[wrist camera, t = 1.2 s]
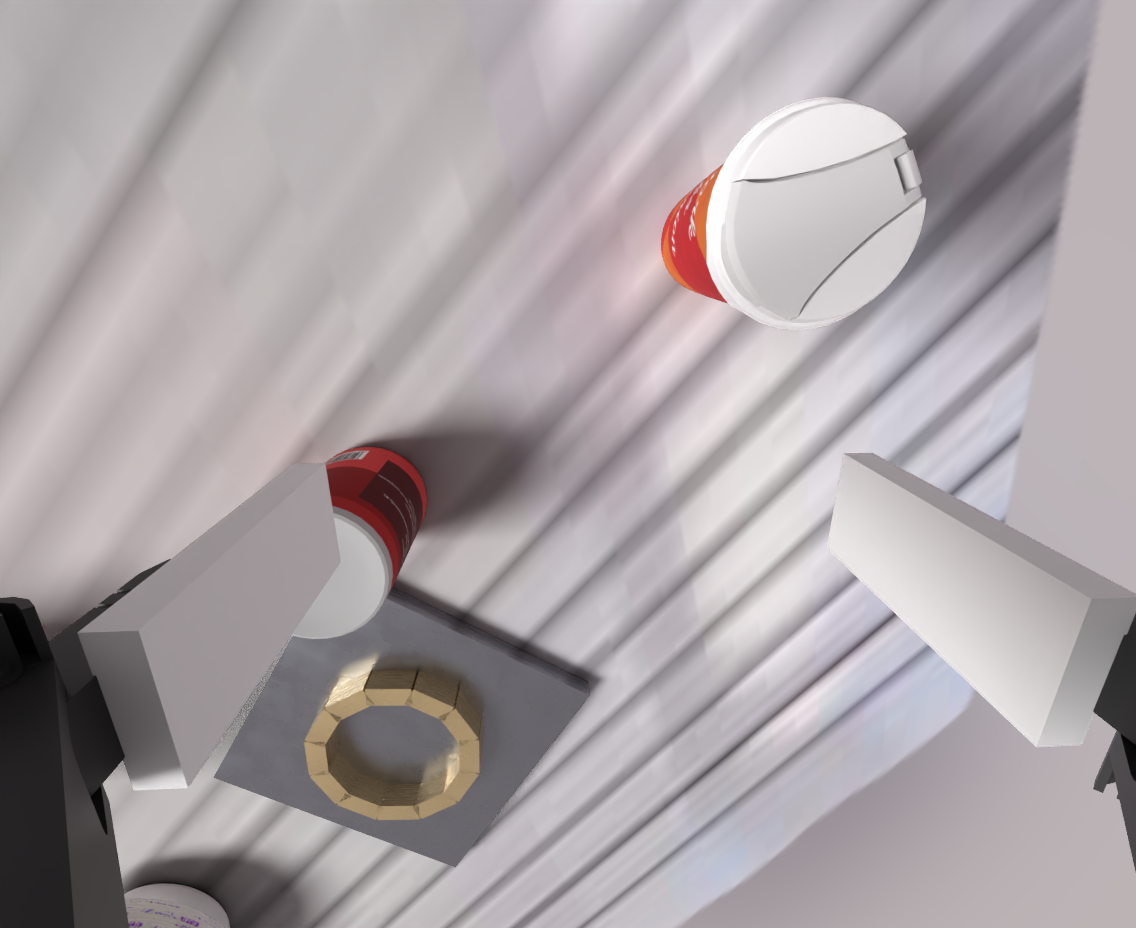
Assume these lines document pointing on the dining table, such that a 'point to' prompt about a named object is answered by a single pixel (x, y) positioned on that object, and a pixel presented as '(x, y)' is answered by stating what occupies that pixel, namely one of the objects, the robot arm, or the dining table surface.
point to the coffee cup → (801, 216)
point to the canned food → (366, 537)
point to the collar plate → (403, 728)
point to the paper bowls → (173, 908)
